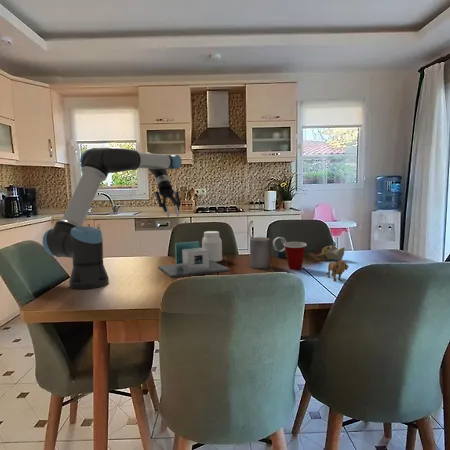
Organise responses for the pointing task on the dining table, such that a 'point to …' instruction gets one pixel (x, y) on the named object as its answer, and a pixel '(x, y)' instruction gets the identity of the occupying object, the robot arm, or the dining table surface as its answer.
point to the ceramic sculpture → (331, 253)
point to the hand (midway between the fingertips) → (173, 215)
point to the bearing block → (193, 264)
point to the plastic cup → (295, 254)
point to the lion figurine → (337, 269)
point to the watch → (281, 252)
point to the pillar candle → (259, 252)
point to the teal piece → (185, 246)
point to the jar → (213, 245)
